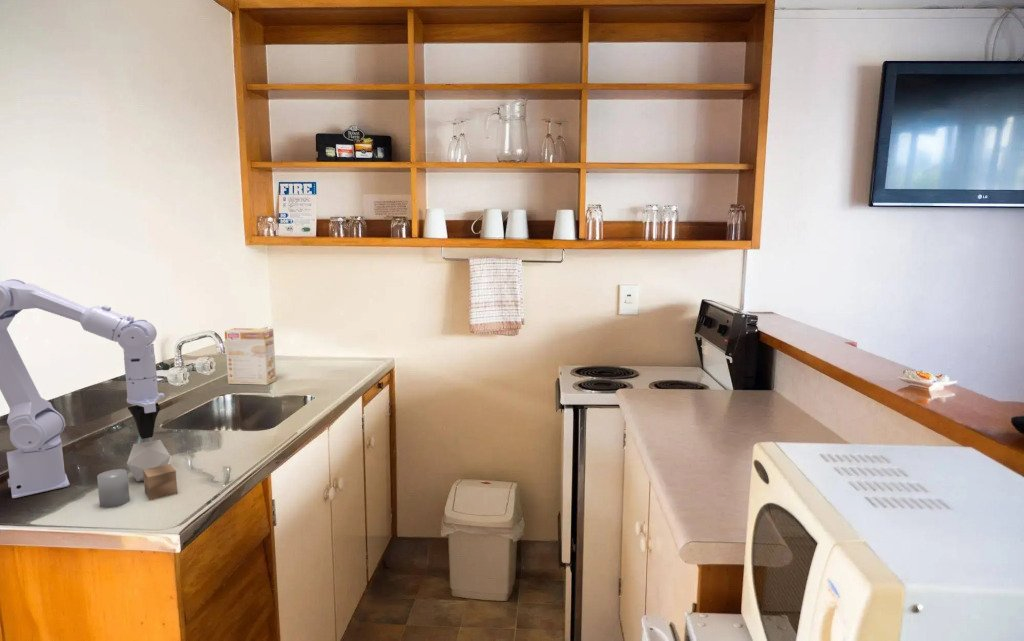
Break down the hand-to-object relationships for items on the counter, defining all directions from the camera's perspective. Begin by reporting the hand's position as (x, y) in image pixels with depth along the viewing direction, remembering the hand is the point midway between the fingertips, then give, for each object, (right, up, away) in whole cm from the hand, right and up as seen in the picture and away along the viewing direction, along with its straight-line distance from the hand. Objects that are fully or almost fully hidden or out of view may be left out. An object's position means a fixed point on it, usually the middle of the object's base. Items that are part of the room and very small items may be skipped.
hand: (146, 437), depth 132 cm
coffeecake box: (-14, +3, +86) cm, 88 cm away
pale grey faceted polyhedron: (0, -9, +1) cm, 9 cm away
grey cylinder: (+1, -11, -11) cm, 16 cm away
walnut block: (+7, -10, -7) cm, 14 cm away
